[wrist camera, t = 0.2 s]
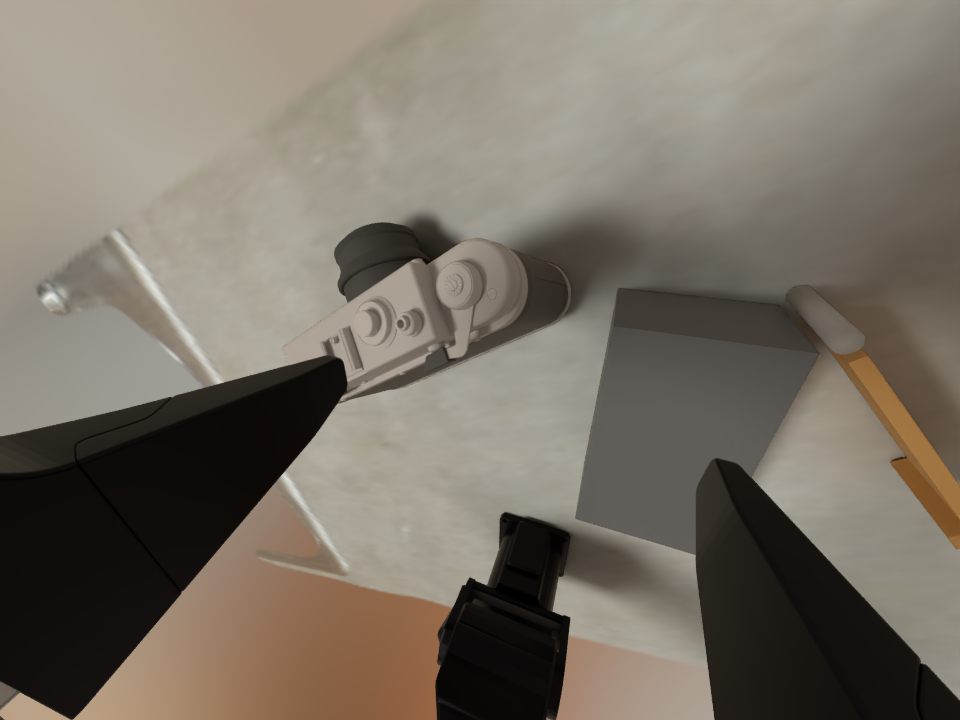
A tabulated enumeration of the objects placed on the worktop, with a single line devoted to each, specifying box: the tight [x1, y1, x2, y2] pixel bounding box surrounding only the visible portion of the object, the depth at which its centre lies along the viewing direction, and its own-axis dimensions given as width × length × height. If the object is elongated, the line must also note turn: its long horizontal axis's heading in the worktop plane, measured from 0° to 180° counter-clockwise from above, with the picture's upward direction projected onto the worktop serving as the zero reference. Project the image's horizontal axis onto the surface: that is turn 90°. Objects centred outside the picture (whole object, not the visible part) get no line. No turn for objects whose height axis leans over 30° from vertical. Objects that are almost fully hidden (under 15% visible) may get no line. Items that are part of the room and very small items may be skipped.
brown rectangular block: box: [823, 341, 960, 549], centre depth 17 cm, size 11×1×5 cm, turn 46°
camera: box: [282, 222, 571, 404], centre depth 21 cm, size 9×16×10 cm, turn 124°
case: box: [575, 285, 866, 555], centre depth 20 cm, size 15×9×5 cm, turn 1°
